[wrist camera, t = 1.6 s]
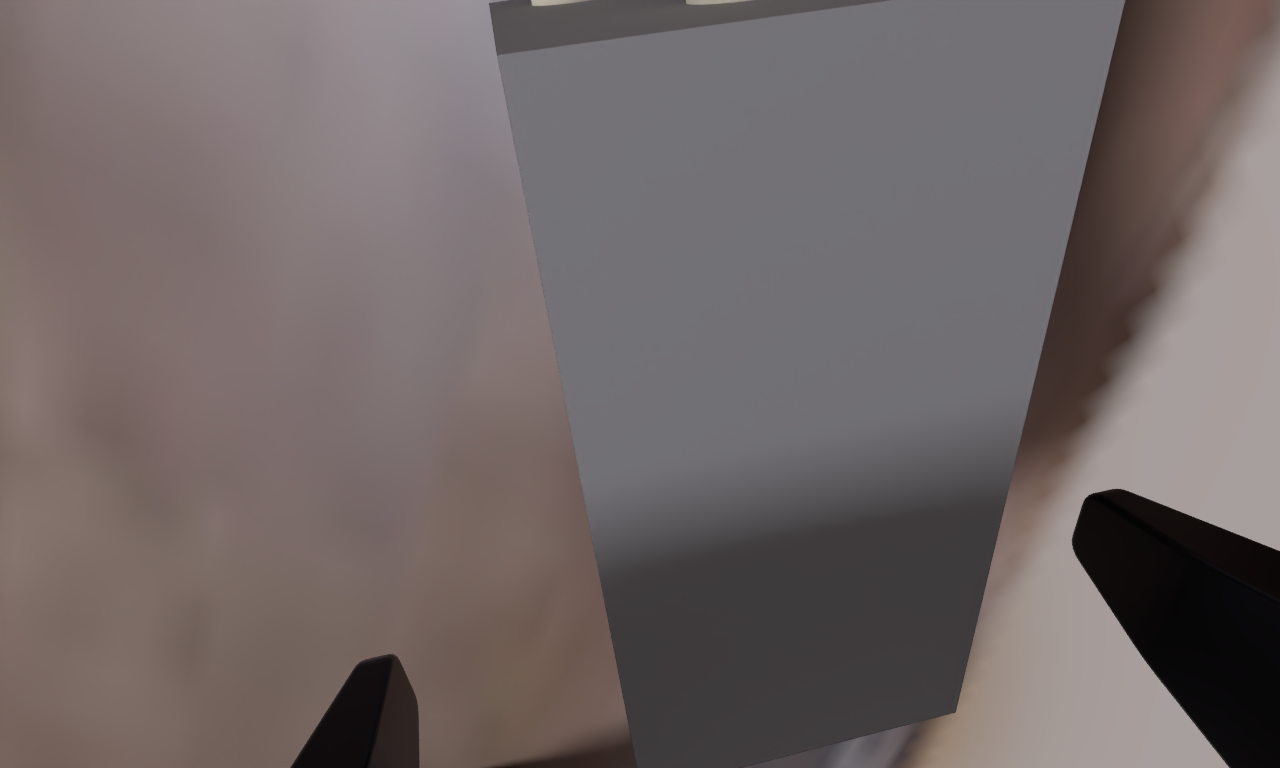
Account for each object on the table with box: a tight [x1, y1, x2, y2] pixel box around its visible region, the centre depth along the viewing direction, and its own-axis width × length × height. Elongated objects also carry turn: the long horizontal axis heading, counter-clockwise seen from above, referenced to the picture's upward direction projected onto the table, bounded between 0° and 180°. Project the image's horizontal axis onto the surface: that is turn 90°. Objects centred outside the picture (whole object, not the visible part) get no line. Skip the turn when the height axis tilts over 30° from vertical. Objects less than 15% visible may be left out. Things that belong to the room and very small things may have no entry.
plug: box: [489, 0, 1125, 768], centre depth 8 cm, size 10×4×6 cm, turn 6°
